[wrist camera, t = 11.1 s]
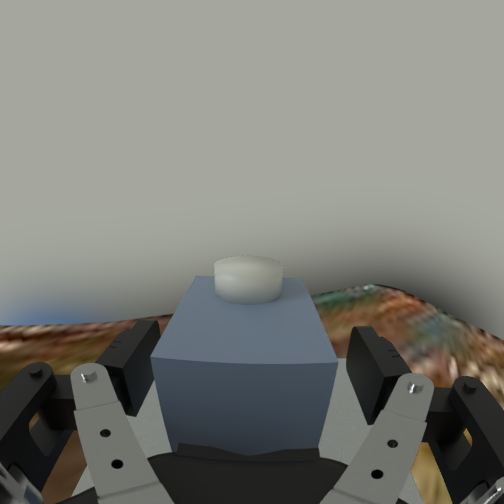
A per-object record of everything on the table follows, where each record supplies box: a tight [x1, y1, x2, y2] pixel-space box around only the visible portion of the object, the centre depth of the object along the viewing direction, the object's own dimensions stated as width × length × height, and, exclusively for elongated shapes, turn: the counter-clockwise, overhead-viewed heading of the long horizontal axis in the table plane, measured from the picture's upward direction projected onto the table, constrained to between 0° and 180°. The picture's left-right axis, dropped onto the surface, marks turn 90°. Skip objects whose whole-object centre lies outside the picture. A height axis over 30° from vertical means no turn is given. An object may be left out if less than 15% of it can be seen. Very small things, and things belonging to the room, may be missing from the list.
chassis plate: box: [71, 358, 423, 504], centre depth 12 cm, size 20×16×2 cm
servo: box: [150, 256, 339, 456], centre depth 11 cm, size 10×4×12 cm, turn 179°
